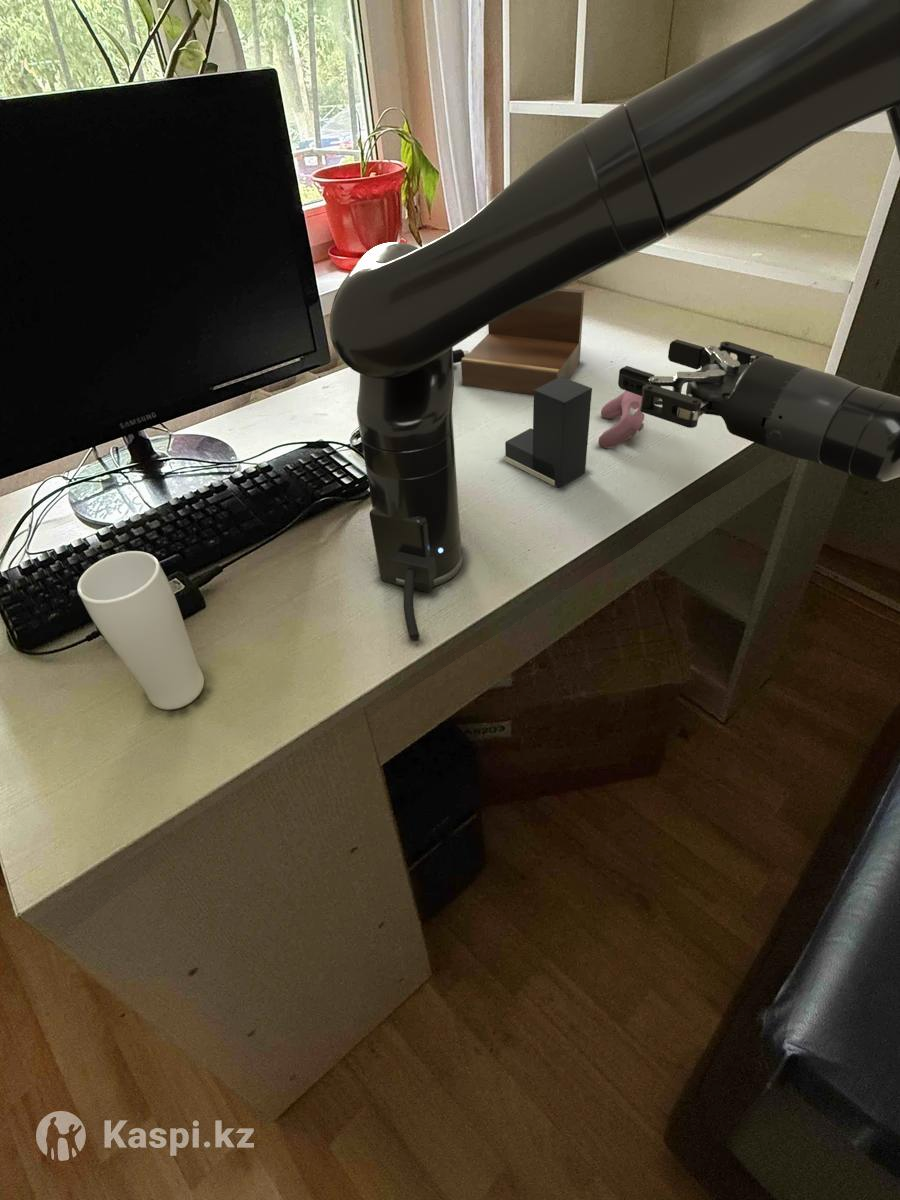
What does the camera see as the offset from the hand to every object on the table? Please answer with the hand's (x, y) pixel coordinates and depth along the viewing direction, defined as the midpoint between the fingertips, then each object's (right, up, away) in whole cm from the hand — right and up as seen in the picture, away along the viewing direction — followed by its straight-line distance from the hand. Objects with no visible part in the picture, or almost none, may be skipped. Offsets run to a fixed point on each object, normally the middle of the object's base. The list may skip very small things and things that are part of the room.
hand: (646, 362), depth 72 cm
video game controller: (+4, -1, +26) cm, 26 cm away
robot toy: (-25, +13, +44) cm, 52 cm away
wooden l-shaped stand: (-9, +13, +42) cm, 44 cm away
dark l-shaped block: (-8, -7, +20) cm, 23 cm away
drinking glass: (-47, -34, -5) cm, 59 cm away
